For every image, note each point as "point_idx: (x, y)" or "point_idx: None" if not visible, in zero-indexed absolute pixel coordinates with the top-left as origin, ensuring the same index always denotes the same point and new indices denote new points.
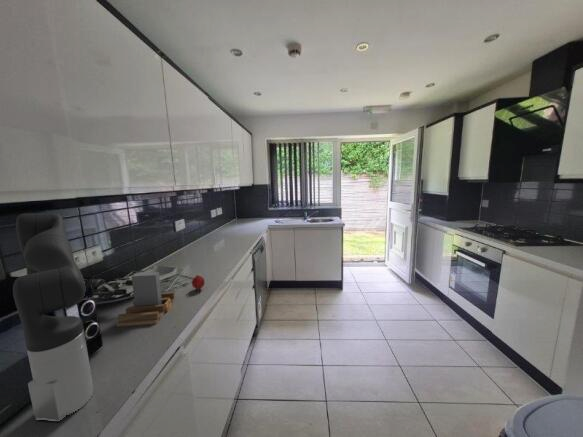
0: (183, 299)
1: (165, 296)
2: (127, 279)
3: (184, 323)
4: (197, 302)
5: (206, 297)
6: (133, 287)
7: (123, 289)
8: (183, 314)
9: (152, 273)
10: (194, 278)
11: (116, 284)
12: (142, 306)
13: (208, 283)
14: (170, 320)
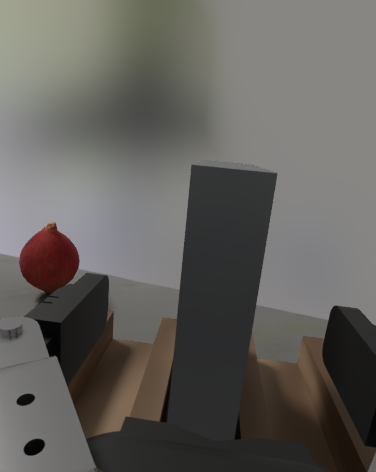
0: (121, 324)
1: (98, 350)
2: (11, 320)
3: (310, 317)
4: (171, 297)
5: (142, 283)
6: (257, 294)
7: (359, 312)
8: (253, 321)
9: (221, 162)
10: (52, 242)
11: (156, 434)
12: (251, 404)
13: (10, 275)
14: (296, 345)
